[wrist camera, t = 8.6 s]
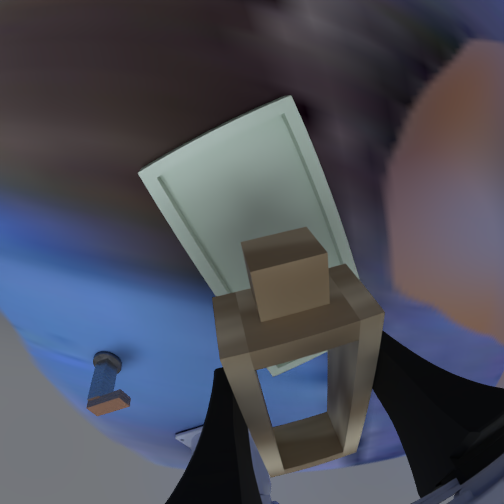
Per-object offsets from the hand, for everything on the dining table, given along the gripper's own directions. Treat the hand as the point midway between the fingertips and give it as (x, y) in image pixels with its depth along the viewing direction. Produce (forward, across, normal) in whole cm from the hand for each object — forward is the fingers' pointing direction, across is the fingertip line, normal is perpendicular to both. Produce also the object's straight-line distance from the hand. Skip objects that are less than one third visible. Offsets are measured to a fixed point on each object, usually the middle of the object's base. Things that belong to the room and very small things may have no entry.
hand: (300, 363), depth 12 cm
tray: (+10, -1, +1) cm, 11 cm away
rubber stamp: (+10, +14, +7) cm, 19 cm away
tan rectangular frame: (+2, 0, +3) cm, 3 cm away
